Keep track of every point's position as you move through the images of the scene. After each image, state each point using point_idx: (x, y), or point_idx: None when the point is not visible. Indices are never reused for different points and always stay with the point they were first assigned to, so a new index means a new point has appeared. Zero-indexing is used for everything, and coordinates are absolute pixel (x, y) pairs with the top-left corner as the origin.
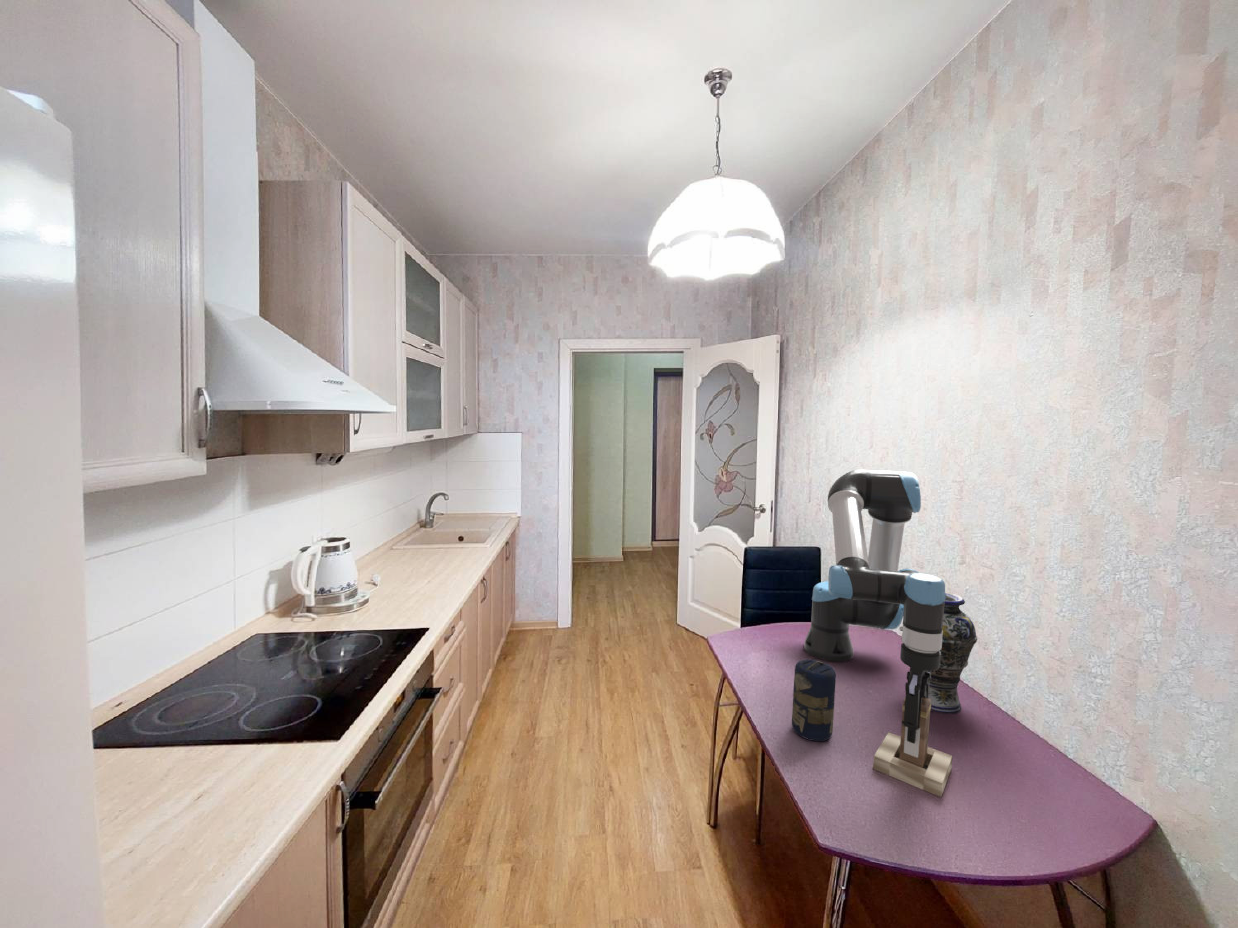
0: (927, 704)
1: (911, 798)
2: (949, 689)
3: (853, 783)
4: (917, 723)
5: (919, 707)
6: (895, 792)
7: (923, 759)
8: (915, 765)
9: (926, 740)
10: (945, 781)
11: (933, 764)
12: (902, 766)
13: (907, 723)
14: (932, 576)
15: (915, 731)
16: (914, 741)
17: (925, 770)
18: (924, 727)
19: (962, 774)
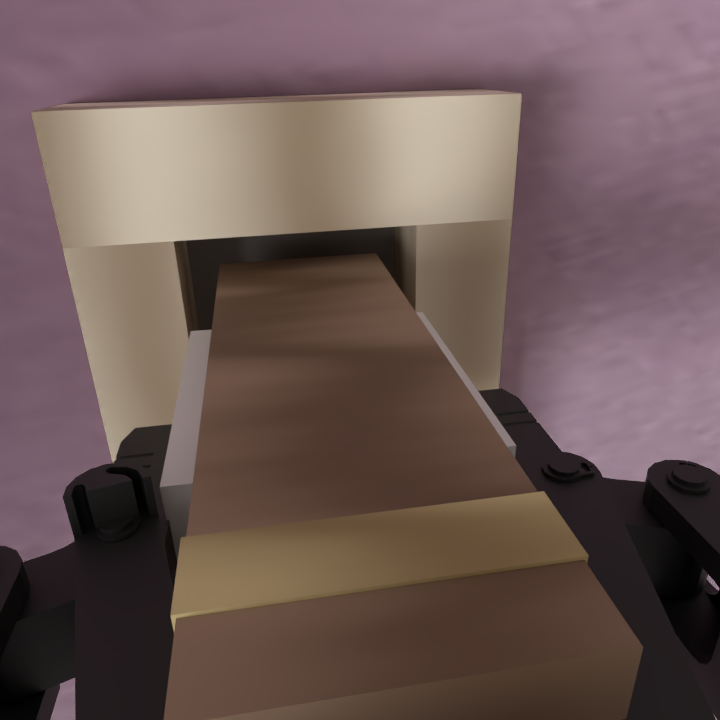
0: (498, 679)
1: (602, 226)
2: None
3: (643, 465)
4: (701, 512)
5: (699, 703)
6: (599, 305)
7: (369, 275)
8: (419, 297)
9: (306, 330)
10: (341, 95)
11: (306, 205)
12: (489, 353)
13: (705, 574)
14: None
15: (536, 453)
16: (512, 398)
17: (435, 229)
18: (482, 420)
19: (68, 14)
